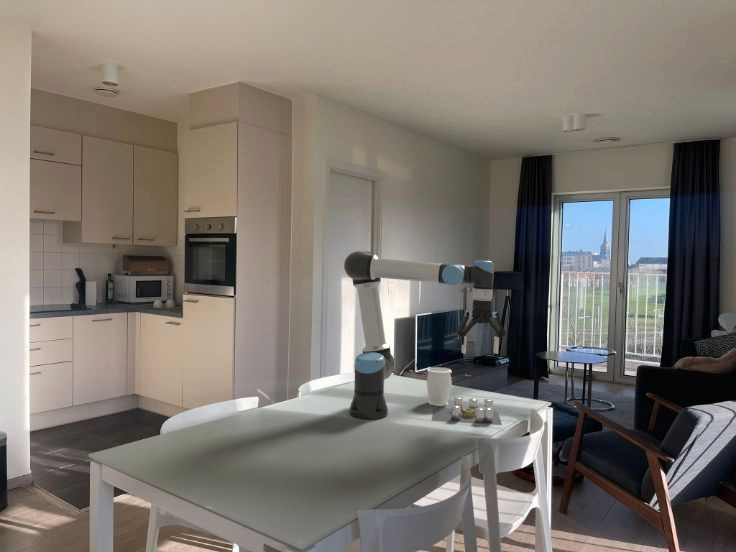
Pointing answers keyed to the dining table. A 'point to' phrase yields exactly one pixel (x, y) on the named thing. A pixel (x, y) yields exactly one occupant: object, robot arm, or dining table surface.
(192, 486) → the dining table surface
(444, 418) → the mat
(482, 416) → the spacers
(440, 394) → the jar
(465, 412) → the nut
